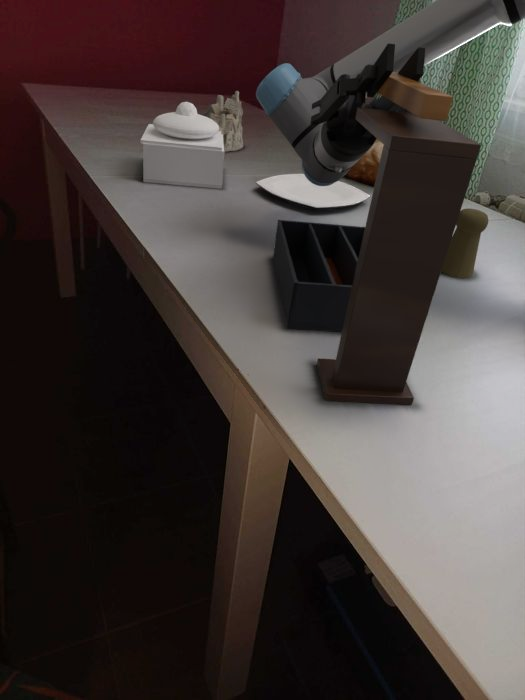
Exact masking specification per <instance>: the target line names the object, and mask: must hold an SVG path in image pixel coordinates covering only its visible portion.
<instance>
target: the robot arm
mask: <svg viewBox="0 0 525 700" xmlns="http://www.w3.org/2000/svg"><path fill="white" fill-rule="evenodd" d="M524 19H525V0H435V1H433V2H431V3H430V4H428V5H427V6H425V7H423V8H422V9H420V10H418V11H417V12H415V13H413V14H412V15H410V16H409V17H407V18H406V19H404V20H402V21H401V22H399V23H398V24H396V25H394V26H393V27H391V28H390V29H388V30H386V31H385V32H383V33H382V34H380V35H379V36H376V37H375V38H374V39H372V40H371V41H370V40H369V42H367V43H366V44H364V45H362V46H360V47H359V48H357V49H356V50H354V51H352V52H350V54H348V55H346V56H344V57H343V58H342V59H340V60H338V61H336V62H335V63H333V64H332V65H330V66H329V67H326V68H325V69H324V70H322V71H320V72H318V73H317V74H315V75H313V76H311V77H305V78H302V76H301V73H300V72H299V71H297V70H296V68H294V66H293V65H292V64H291V63H288V62H287V63H282V64H279V65H278V66H276V67H275V68H274V69H272V70H271V71H270V72H269V73H268V74H267V75H265V77H264V78H263V79H262V80H261V82H260V83H259V85H258V86H257V88H256V91H255V98H256V100H257V101H258V102H259V104H260V106H261V107H262V109H263V111H264V114H265V115H266V116H268V117H269V119H270V120H271V121H272V122H273V124H274V125H275V126H276V127H277V129H278V130H279V131H280V133H281V134H282V135H283V137H285V139H286V140H287V142H288V144H290V145H291V147H292V149H293V151H295V153H296V154H297V156H298V157H299V158H300V160H301V169H302V172H303V173H302V174H304V175H305V177H306V178H307V179H308V180H309V181H310V182H311V183H313V184H315V185H318V186H329V185H332V184H333V183H335V182H337V181H341V179H342V178H344V176H347V175H346V174H347V172H348V171H349V170H350V169H351V168H352V166H353V165H354V164H355V163H356V162H357V161H358V160H359V159H360V158H361V157H362V156H363V155H364V154H365V153H366V152H367V151H368V150H369V149H370V148H371V147H372V146H373V144H374V143H375V141H376V139H377V138H376V137H375V136H374V135H373V134H371V133H370V132H369V131H368V130H367V129H366V128H365V127H364V126H363V125H361V124H360V123H359V122H358V121H357V120H356V119H355V118H356V113H357V108H358V107H360V108H369V109H378V110H387V111H396V112H405V113H411V112H409V111H407V110H406V109H404V108H402V107H401V106H399V105H397V104H395V103H394V102H392V101H390V100H389V99H387V98H385V97H384V96H382V95H380V97H379V98H375V96H376V95H377V94H378V93H377V92H378V90H379V89H380V88H381V86H382V85H383V84H384V83H385V81H386V80H387V79H388V77H389V76H390V75H391V74H392V72H395V73H398V74H400V75H402V76H405V77H407V78H410V79H412V80H414V81H417V82H419V83H421V78H422V77H423V76H424V72H425V71H424V70H425V66H426V65H428V64H431V63H432V62H434V61H435V60H437V59H440V58H441V57H443V56H445V55H446V54H449V53H451V52H452V51H454V50H455V49H457V48H459V47H460V46H463V45H464V44H466V43H468V42H469V41H471V40H473V39H476V38H477V37H479V36H480V35H482V34H484V33H486V32H488V31H490V30H491V29H493V28H495V27H496V26H498V25H504V26H508V27H512V26H513V25H515V24H517V23H519V22H520V21H523V20H524ZM367 98H373V99H372V100H371V101H370V102H369V103H366V99H367Z"/></svg>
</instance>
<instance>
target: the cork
mask: <svg viewBox="0 0 525 700" xmlns="http://www.w3.org/2000/svg"><path fill="white" fill-rule="evenodd" d="M488 225H489V215H488V214H487V213H486V212H484V211H482V210H480V209H476V208H463V209H462V208H461V210H460V214H459V217H458V220H457V223H456V226H455V229H454V233H453V236H452V239H451V242H450V245H449V248H448V251H447V255H446V258H445V261H444V264H443V267H442V270H441V273H443V274H445V275H447V276H450V277H453V278H456V279H457V278H458V279H469V278H472V277H473V276H474V270H475V266H476V265H475V264H476V260H477V256H478V250H479V246H480V245H479V244H480V240H481V235H482V233H483V232H484V231H485V230H486V229H487V227H488Z"/></svg>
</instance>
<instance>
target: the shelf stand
mask: <svg viewBox="0 0 525 700" xmlns="http://www.w3.org/2000/svg"><path fill="white" fill-rule="evenodd" d="M355 119H356V120H357V121H358V122H359V123H360V124H361V125H363V126H364V127H365V128H366V129H367V130H368V131H369V132H370V133H371V134H373V135H374V136H375V137H376V138H377V139H378V140H379V141H380V142H381V143H382V144H384V146H383V150H382V154H381V159H380V163H379V168H378V172H377V177H376V181H375V186H373V191H372V194H371V200H370V205H369V208H368V213H367V218H366V221H365V226H364V227H365V231H364V235H363V240H362V244H361V249H360V253H359V258H358V262H357V267H356V271H355V276H354V280H353V285H352V289H351V293H350V298H349V302H348V307H347V311H346V316H345V320H344V325H343V329H342V332H341V335H340V339H339V344H338V347H337V353H336V357H335V358H317V361H316V368H317V372H318V376H319V379H320V383H321V388H322V392H323V395H324V399H325V401H327V402H345V403H346V402H350V403H371V404H388V405H390V404H391V405H413V402H414V401H415V400H414V399H415V396H414V395H413V392H412V391H411V389H410V387H409V384H408V383H407V381H408V377H409V374H410V371H411V368H412V365H413V361H414V359H415V355H416V352H417V349H418V346H419V342H420V339H421V337H422V334H423V330H424V327H425V323H426V321H427V318H428V314H429V312H430V308H431V306H432V305H431V304H432V301H433V298H434V295H435V292H436V289H437V286H438V283H439V280H440V276H441V273H442V272H441V270H442V267H443V264H444V261H445V258H446V255H447V251H448V248H449V245H450V242H451V239H452V236H453V234H454V232H455V230H456V227H457V226H456V223H457V220H458V217H459V214H460V211H461V210H462V207H463V204H464V200H465V197H466V195H467V191H468V188H469V185H470V181H471V178H472V175H473V173H474V170H475V166H476V162H477V160H478V157H479V153H480V151H481V148H482V144H481V143H479V142H477V141H476V140H473V139H472V138H470V137H469V136H467V135H465V134H463V133H462V132H460V131H458V130H456V129H455V128H453V127H451V126H449V125H447V124H445V123H443V121H439V120H431V119H422V118H419V117H417V116H416V115H414V114H412V113H405V112H396V111H387V110H378V109H369V108H360V107H358V108H357V113H356V118H355Z"/></svg>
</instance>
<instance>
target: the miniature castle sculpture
mask: <svg viewBox="0 0 525 700" xmlns="http://www.w3.org/2000/svg"><path fill="white" fill-rule="evenodd" d="M243 115H244V110H243V107H242V101H240V92H239V90H236V91H234V94H232V96H231V98H228V97H226V100H225V99H224V96H223V95H221V94H217V96H216V103H213V104H210V105H209V106H208V108H207V109H206V111H205V112H204V113H203V114H202V116H205V117H208V118H210V119H212V120H213V121H214V122H216V123H217V124H218V126H219V131H221V134H223V143H224V151H225V153H226V152H236V151H238V150H242V149H243V148H244V141H243V126H242V122H243V121H242V119H243Z"/></svg>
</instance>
